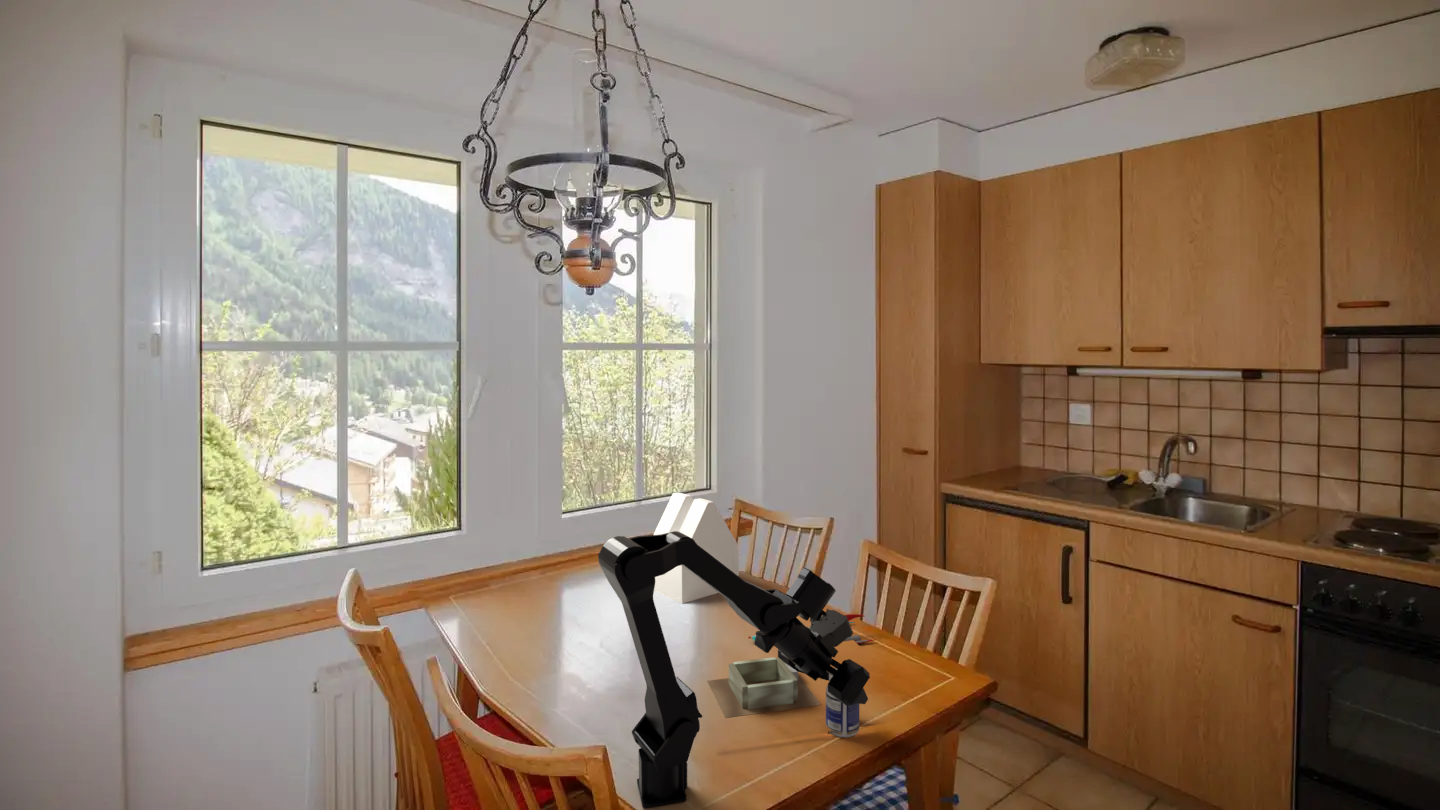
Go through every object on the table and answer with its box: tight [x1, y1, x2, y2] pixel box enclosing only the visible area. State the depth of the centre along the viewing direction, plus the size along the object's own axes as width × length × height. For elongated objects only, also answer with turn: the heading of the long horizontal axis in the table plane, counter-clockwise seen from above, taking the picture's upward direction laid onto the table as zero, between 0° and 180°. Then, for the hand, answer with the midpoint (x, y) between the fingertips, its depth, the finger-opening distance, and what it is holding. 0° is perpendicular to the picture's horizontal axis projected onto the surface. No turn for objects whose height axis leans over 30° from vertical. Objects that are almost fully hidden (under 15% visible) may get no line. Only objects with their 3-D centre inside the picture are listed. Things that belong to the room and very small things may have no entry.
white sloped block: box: [652, 492, 740, 604], centre depth 192 cm, size 19×15×25 cm
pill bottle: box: [825, 668, 860, 738], centre depth 121 cm, size 6×6×10 cm
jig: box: [706, 656, 822, 719], centre depth 133 cm, size 18×14×5 cm
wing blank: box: [785, 663, 799, 680], centre depth 139 cm, size 3×4×2 cm
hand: (848, 689), depth 122 cm, fingers open, 9 cm apart
